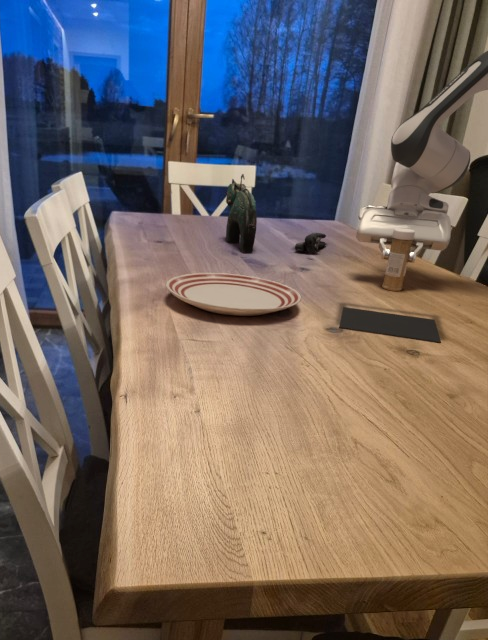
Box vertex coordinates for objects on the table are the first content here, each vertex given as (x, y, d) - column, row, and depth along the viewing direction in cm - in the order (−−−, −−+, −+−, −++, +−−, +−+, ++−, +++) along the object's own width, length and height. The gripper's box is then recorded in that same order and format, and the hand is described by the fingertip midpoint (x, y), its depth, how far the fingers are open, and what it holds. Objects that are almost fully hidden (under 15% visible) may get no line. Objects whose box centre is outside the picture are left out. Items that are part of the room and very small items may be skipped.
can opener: (313, 256, 164) (317, 236, 162) (291, 252, 167) (294, 232, 165) (334, 247, 178) (337, 229, 175) (312, 244, 181) (315, 225, 178)
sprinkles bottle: (405, 290, 133) (419, 230, 127) (393, 292, 130) (407, 231, 124) (389, 285, 136) (402, 226, 130) (377, 287, 133) (389, 228, 127)
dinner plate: (227, 278, 135) (228, 264, 134) (325, 308, 118) (328, 293, 117) (137, 297, 117) (137, 281, 116) (238, 335, 100) (240, 317, 99)
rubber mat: (434, 320, 115) (434, 319, 115) (440, 343, 103) (441, 342, 103) (343, 307, 119) (343, 306, 119) (339, 328, 107) (339, 327, 107)
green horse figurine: (220, 239, 179) (226, 170, 170) (240, 240, 180) (247, 171, 171) (238, 253, 161) (245, 177, 152) (260, 254, 162) (268, 179, 154)
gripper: (362, 195, 133) (352, 246, 129) (456, 204, 128) (449, 256, 124) (359, 213, 139) (349, 261, 135) (448, 222, 134) (442, 272, 130)
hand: (398, 259), depth 129 cm, fingers closed on sprinkles bottle, 4 cm apart
